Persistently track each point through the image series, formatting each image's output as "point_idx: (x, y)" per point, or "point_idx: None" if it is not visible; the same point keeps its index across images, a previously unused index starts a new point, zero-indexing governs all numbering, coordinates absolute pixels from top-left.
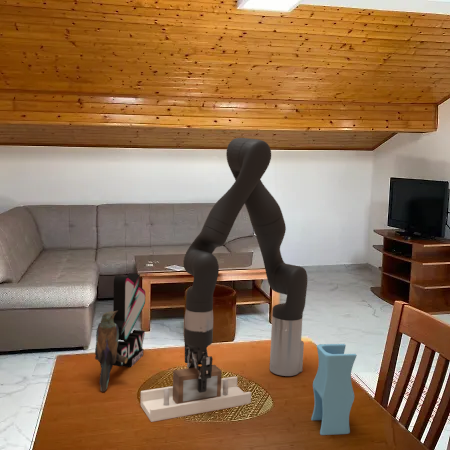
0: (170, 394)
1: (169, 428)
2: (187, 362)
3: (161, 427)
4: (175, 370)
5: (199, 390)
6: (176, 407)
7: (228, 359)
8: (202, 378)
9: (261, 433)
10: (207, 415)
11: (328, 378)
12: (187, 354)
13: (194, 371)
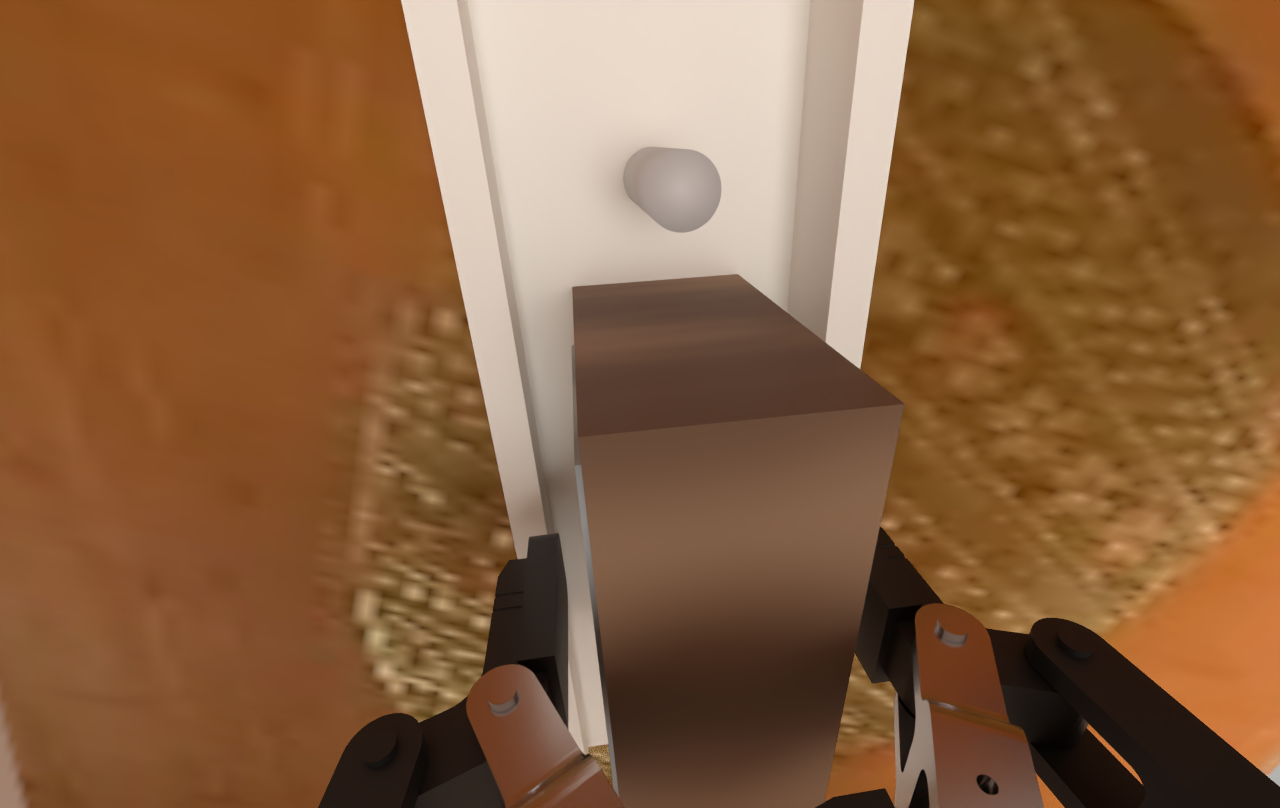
0: (800, 272)
1: (247, 94)
2: (996, 664)
3: (273, 6)
4: (884, 438)
5: (530, 552)
6: (454, 245)
7: None
8: (348, 746)
9: (167, 695)
10: (463, 473)
11: None
12: (1153, 784)
13: (719, 670)
